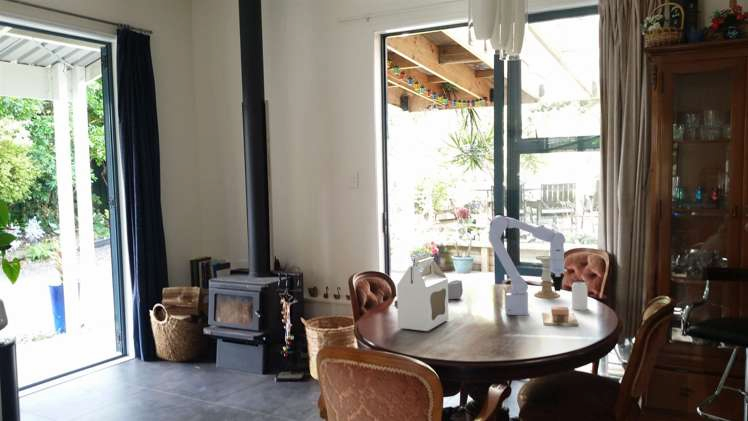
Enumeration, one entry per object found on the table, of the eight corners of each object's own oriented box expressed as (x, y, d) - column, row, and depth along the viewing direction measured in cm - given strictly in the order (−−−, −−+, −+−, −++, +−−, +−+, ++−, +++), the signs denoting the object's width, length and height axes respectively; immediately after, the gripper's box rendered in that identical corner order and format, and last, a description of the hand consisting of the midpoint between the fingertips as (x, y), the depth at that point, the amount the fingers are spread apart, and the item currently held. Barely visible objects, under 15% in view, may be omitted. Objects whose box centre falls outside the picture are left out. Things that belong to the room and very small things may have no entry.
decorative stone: (468, 291, 279) (457, 273, 280) (467, 293, 272) (456, 276, 273) (443, 305, 282) (433, 288, 283) (442, 308, 276) (431, 291, 276)
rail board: (543, 325, 223) (543, 315, 222) (542, 314, 240) (542, 305, 240) (578, 326, 219) (578, 316, 219) (574, 316, 237) (574, 306, 236)
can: (588, 311, 245) (588, 283, 245) (573, 310, 247) (573, 283, 246) (586, 307, 252) (585, 281, 251) (571, 307, 253) (570, 281, 252)
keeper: (552, 320, 224) (551, 309, 223) (551, 318, 228) (551, 306, 228) (568, 321, 222) (568, 309, 222) (568, 318, 227) (567, 307, 227)
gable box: (427, 331, 217) (426, 259, 216) (397, 328, 224) (395, 258, 223) (448, 319, 237) (447, 253, 235) (420, 316, 243) (419, 252, 242)
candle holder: (539, 294, 286) (538, 255, 285) (563, 296, 279) (562, 256, 278) (530, 298, 276) (529, 257, 275) (555, 300, 269) (554, 259, 268)
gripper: (567, 261, 233) (568, 294, 234) (565, 257, 247) (566, 287, 248) (550, 261, 235) (550, 293, 236) (549, 257, 249) (549, 287, 250)
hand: (557, 290), depth 242 cm, fingers closed
